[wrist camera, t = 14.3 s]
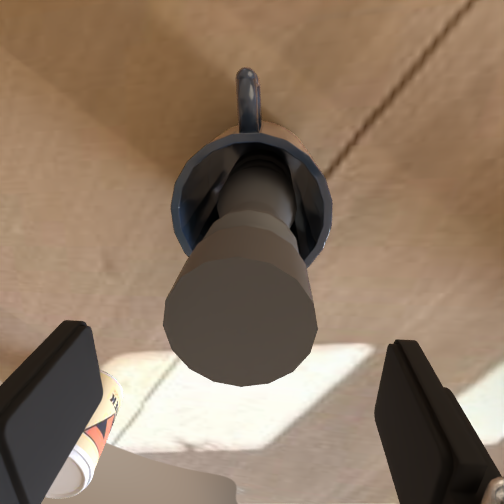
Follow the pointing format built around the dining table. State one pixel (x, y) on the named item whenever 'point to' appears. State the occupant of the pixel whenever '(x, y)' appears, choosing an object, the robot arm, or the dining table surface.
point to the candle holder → (245, 283)
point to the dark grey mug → (223, 160)
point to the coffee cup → (89, 443)
